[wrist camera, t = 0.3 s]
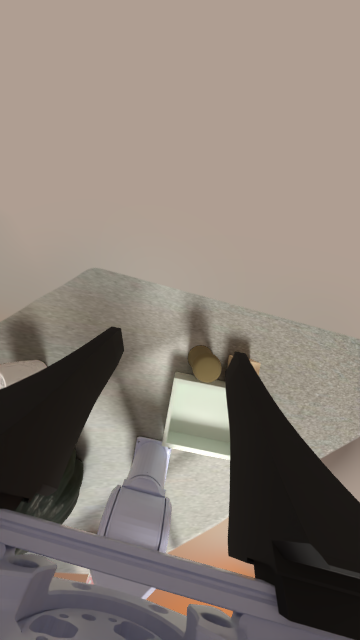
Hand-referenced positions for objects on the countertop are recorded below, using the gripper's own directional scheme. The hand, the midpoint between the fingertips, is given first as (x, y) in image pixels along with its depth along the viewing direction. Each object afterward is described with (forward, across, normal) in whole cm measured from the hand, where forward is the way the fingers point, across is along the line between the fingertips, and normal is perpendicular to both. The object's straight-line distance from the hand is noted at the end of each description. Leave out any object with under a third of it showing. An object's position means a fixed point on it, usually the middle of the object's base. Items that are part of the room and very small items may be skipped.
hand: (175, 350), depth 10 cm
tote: (+12, -8, +30) cm, 34 cm away
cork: (+19, -5, +22) cm, 30 cm away
